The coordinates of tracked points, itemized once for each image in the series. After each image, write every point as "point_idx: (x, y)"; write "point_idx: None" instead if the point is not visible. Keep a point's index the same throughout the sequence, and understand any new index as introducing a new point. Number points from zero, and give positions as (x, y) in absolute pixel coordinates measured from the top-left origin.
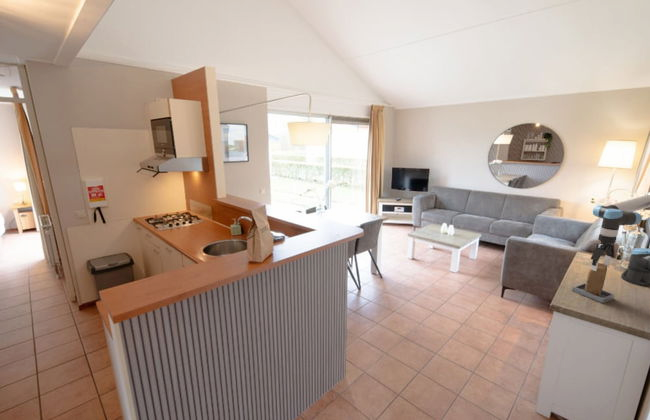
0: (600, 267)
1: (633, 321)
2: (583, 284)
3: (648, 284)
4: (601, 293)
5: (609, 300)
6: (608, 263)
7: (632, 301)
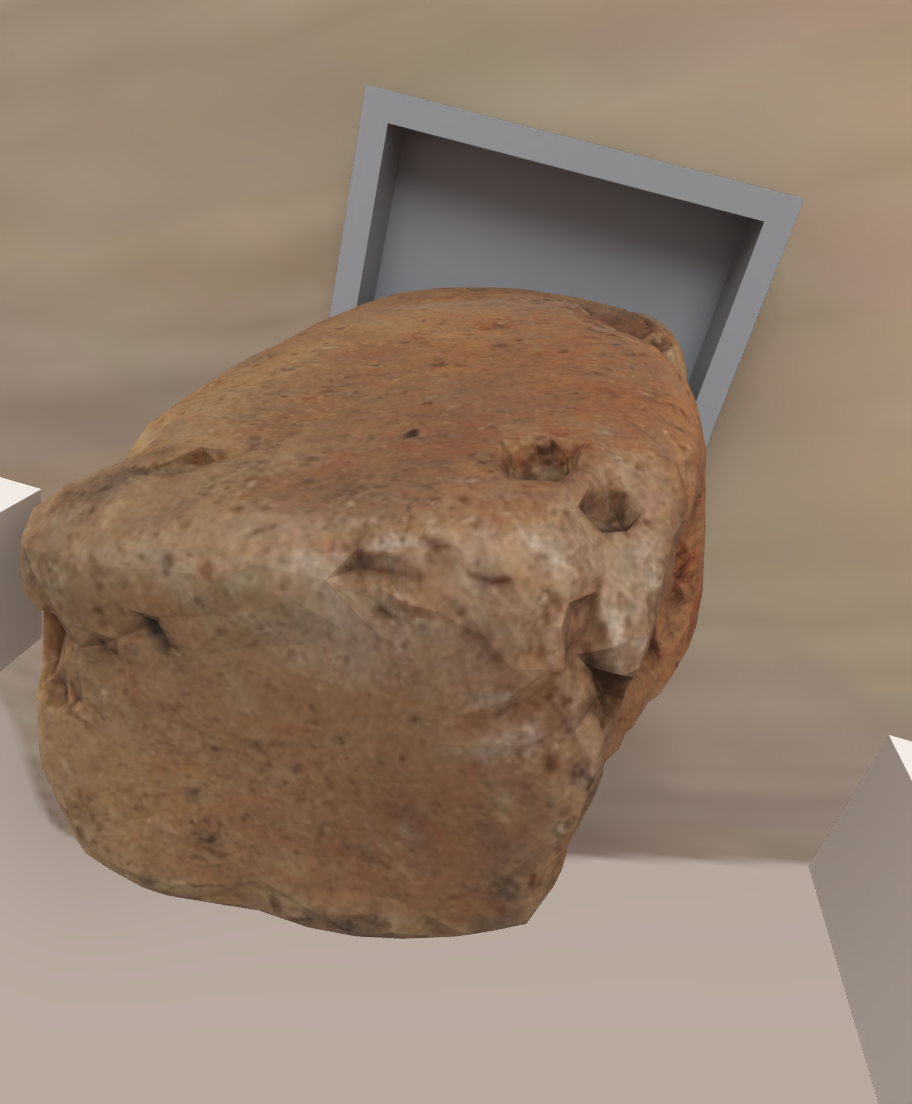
0: (97, 785)
1: None
2: (703, 205)
3: None
4: None
5: None
6: (853, 973)
7: (737, 774)
